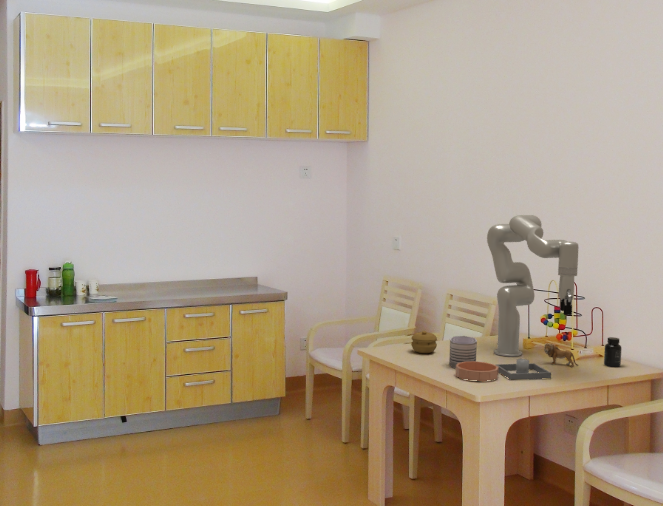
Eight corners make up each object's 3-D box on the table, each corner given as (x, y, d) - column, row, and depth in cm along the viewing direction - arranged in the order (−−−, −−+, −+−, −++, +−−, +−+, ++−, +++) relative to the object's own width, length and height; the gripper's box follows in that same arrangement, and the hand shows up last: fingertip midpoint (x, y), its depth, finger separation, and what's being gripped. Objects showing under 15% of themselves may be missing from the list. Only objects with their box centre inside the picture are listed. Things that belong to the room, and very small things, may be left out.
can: (479, 365, 322) (480, 338, 320) (470, 371, 312) (471, 342, 311) (454, 361, 327) (455, 334, 326) (444, 367, 318) (445, 339, 317)
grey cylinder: (514, 373, 309) (514, 358, 309) (525, 372, 310) (525, 358, 310) (519, 376, 305) (519, 361, 304) (530, 376, 305) (531, 361, 305)
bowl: (450, 371, 310) (450, 361, 309) (488, 370, 313) (488, 360, 312) (464, 382, 293) (464, 372, 293) (504, 381, 296) (504, 370, 296)
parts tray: (494, 370, 314) (494, 364, 313) (534, 369, 317) (534, 363, 316) (509, 380, 298) (509, 374, 298) (550, 378, 301) (551, 372, 301)
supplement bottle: (619, 364, 327) (621, 337, 326) (621, 368, 321) (622, 340, 320) (603, 363, 329) (604, 336, 328) (604, 366, 323) (605, 339, 322)
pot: (441, 352, 345) (442, 331, 344) (426, 356, 336) (427, 334, 335) (421, 348, 353) (421, 327, 352) (405, 352, 344) (406, 330, 343)
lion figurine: (542, 364, 326) (543, 344, 325) (544, 361, 330) (545, 341, 329) (577, 368, 320) (578, 347, 319) (579, 365, 324) (580, 345, 324)
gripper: (555, 269, 316) (553, 309, 318) (561, 273, 299) (559, 316, 301) (573, 269, 315) (572, 309, 317) (580, 274, 298) (578, 317, 300)
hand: (565, 312), depth 309 cm, fingers open, 9 cm apart
